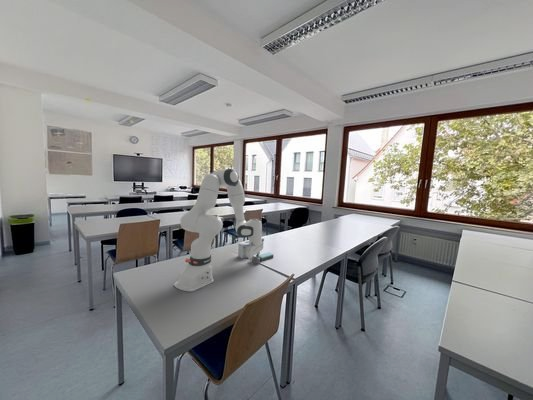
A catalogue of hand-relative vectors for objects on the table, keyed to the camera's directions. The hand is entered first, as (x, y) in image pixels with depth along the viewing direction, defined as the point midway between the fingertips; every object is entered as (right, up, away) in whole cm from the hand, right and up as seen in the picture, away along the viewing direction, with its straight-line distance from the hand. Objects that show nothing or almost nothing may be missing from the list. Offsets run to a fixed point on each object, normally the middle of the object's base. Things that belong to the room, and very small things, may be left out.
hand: (254, 259), depth 160 cm
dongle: (-1, -2, 0) cm, 2 cm away
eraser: (+8, -2, +9) cm, 12 cm away
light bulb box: (-7, -1, +12) cm, 14 cm away
